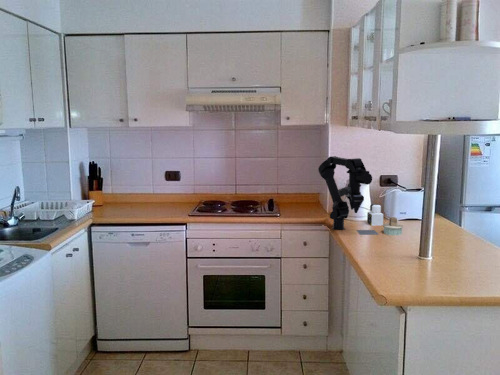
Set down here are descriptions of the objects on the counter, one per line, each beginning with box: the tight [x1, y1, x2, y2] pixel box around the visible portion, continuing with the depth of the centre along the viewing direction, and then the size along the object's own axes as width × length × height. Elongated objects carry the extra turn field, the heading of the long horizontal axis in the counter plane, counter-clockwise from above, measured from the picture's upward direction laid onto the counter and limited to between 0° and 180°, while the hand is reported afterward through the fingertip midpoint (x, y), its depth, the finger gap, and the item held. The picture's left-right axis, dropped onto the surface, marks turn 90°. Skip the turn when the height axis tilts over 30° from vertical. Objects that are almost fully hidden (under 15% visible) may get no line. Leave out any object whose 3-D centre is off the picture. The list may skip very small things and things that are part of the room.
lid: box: [382, 217, 404, 229], centre depth 233 cm, size 10×10×5 cm
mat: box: [356, 229, 380, 236], centre depth 236 cm, size 10×10×1 cm
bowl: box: [383, 227, 403, 236], centre depth 234 cm, size 9×9×4 cm
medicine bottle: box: [366, 203, 384, 227], centre depth 254 cm, size 7×7×12 cm
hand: (353, 211), depth 233 cm, fingers open, 9 cm apart
